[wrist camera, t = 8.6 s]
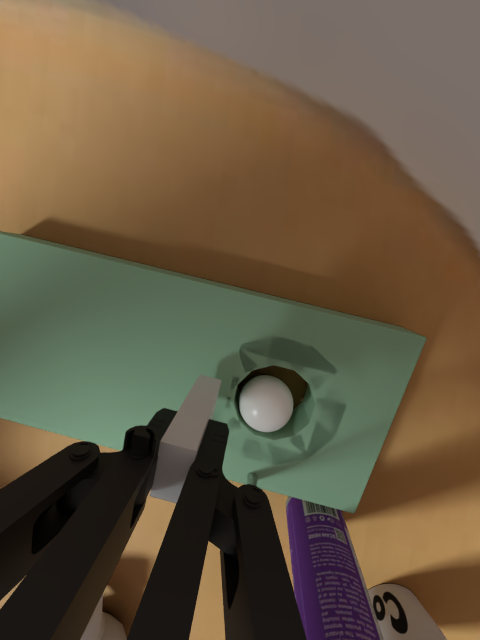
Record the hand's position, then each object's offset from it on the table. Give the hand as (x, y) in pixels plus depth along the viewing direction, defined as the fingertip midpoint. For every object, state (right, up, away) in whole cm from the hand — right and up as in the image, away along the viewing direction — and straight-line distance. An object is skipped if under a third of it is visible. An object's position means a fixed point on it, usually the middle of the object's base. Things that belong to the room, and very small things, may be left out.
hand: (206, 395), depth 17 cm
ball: (+4, -1, +2) cm, 5 cm away
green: (-2, +1, +4) cm, 5 cm away
